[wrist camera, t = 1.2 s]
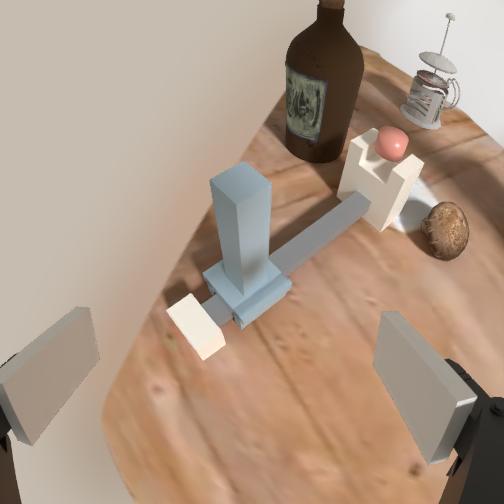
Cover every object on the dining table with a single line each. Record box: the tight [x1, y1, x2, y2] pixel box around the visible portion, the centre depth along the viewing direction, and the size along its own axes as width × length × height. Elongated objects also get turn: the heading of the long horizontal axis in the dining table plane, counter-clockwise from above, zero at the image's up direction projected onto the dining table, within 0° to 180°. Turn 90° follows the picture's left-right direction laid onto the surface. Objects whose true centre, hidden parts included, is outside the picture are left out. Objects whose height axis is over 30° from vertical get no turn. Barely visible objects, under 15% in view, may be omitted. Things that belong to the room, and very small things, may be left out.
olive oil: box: [285, 0, 364, 162], centre depth 39 cm, size 11×11×25 cm
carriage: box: [202, 161, 292, 330], centre depth 27 cm, size 6×6×17 cm
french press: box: [400, 13, 460, 130], centre depth 45 cm, size 10×12×25 cm
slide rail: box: [166, 128, 424, 361], centre depth 34 cm, size 32×8×10 cm, turn 129°
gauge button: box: [374, 126, 409, 162], centre depth 33 cm, size 4×4×2 cm
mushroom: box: [421, 202, 469, 261], centre depth 37 cm, size 8×8×6 cm
